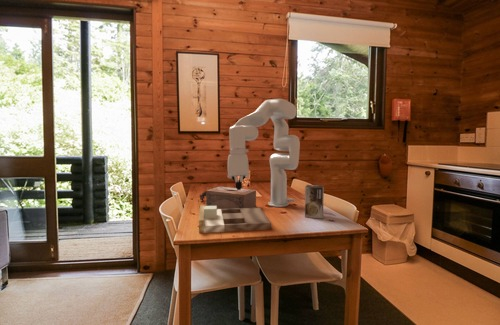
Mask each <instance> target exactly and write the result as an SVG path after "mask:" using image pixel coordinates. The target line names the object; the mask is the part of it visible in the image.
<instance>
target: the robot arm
mask: <svg viewBox="0 0 500 325" xmlns="http://www.w3.org/2000/svg"><path fill="white" fill-rule="evenodd" d="M297 113H298V112H297V107H296V106H295V104H293V103H292V102H291V101H288V100H286V99H283V98H272V99H271V98H270V99H269V98H268V99H266V100H264V101H263V102H262V103H261V104H260V105H259V106H258V107H257V109H255V111H253V112H252V113H250V114H248V115H246V116H243V117H242V118H239V120H238V121H237V122H235V124H233V125H232V126H230V127H229V129H228V133H229V134H228V135H229V136H228V138H229V154H228V157H227V169H226V170H227V176H226V177H227V178H228V179H232V180H233V181H234V182H235V185H234V186H235V187H234V188H237V190H241V189H243V181H244V180H245V179H246V178H250V166H249V159H248V155H247V153H249V149H248V148H246V141H247V142H251V141H255V140H256V139H257V138H258V137H259V129H258V127H262V126H265V124H266V123H267V122H268V121H269V120H271V121H272V123H273V126H274V127H273V128H274V132H273V148H274V150H276V151H281V152H275V153H272V154H271V155H270V156H269V166H270V201H268V202H267V204H268V205H269V206H270V207H274V208H282V207H283V208H285V207H287V206H289V205H290V203H289V202H295V198H293V197H292V198H291V197H287V187H288V185H287V180H288V178H287V172H286V171H285V170H292V171H294V170H296V169H297V168H298V167H299V161H300V146H301V143H300V142H301V141H300V138H299V137H298V136H297V135H295V134H289V132H290V130H289V128H290V127H289V125H288V123H287V121H286V120H292V119H294V118H296V116H297ZM287 152H289V153H287ZM238 177H239V179H238Z"/></svg>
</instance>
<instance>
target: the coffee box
mask: <svg viewBox="0 0 500 325" xmlns="http://www.w3.org/2000/svg"><path fill="white" fill-rule="evenodd" d="M324 188H325V186H324V185H316V184H314V185H313V184H306V186H305V187H304V189H305V190H304V196H305V199H304V200H305V201H304V218H310V219H311V218H312V219H313V218H314V219H324V194H325V193H324V190H325V189H324Z"/></svg>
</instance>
